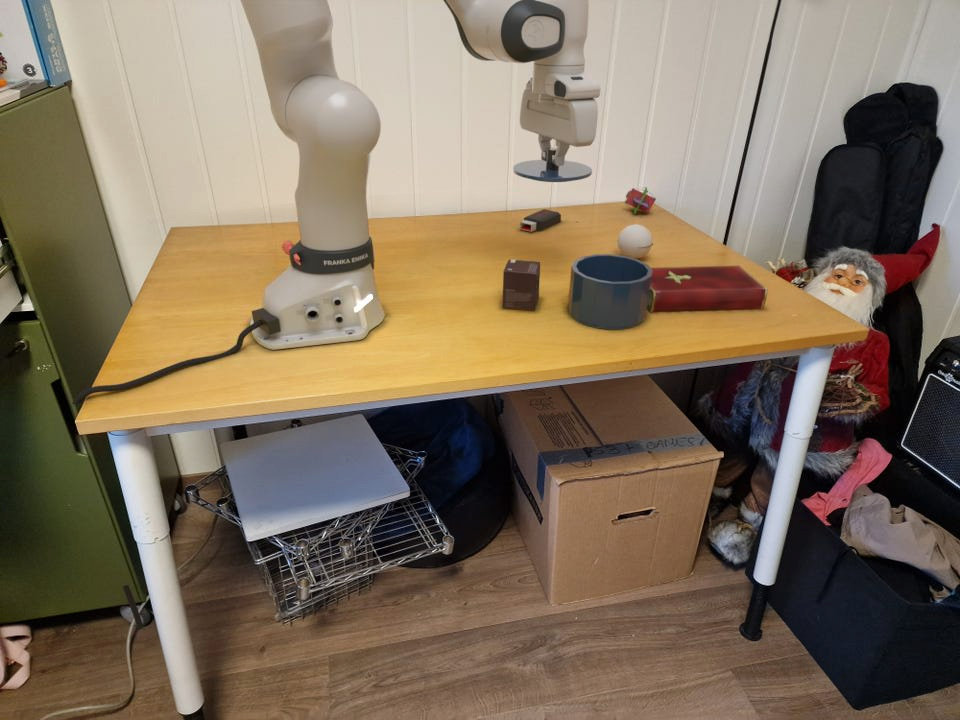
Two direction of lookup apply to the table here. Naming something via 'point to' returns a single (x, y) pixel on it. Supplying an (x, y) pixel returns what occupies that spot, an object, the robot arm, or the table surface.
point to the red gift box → (639, 200)
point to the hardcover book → (704, 289)
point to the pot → (609, 291)
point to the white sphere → (635, 241)
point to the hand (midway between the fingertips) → (552, 162)
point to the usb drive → (540, 220)
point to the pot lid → (552, 169)
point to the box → (521, 284)
